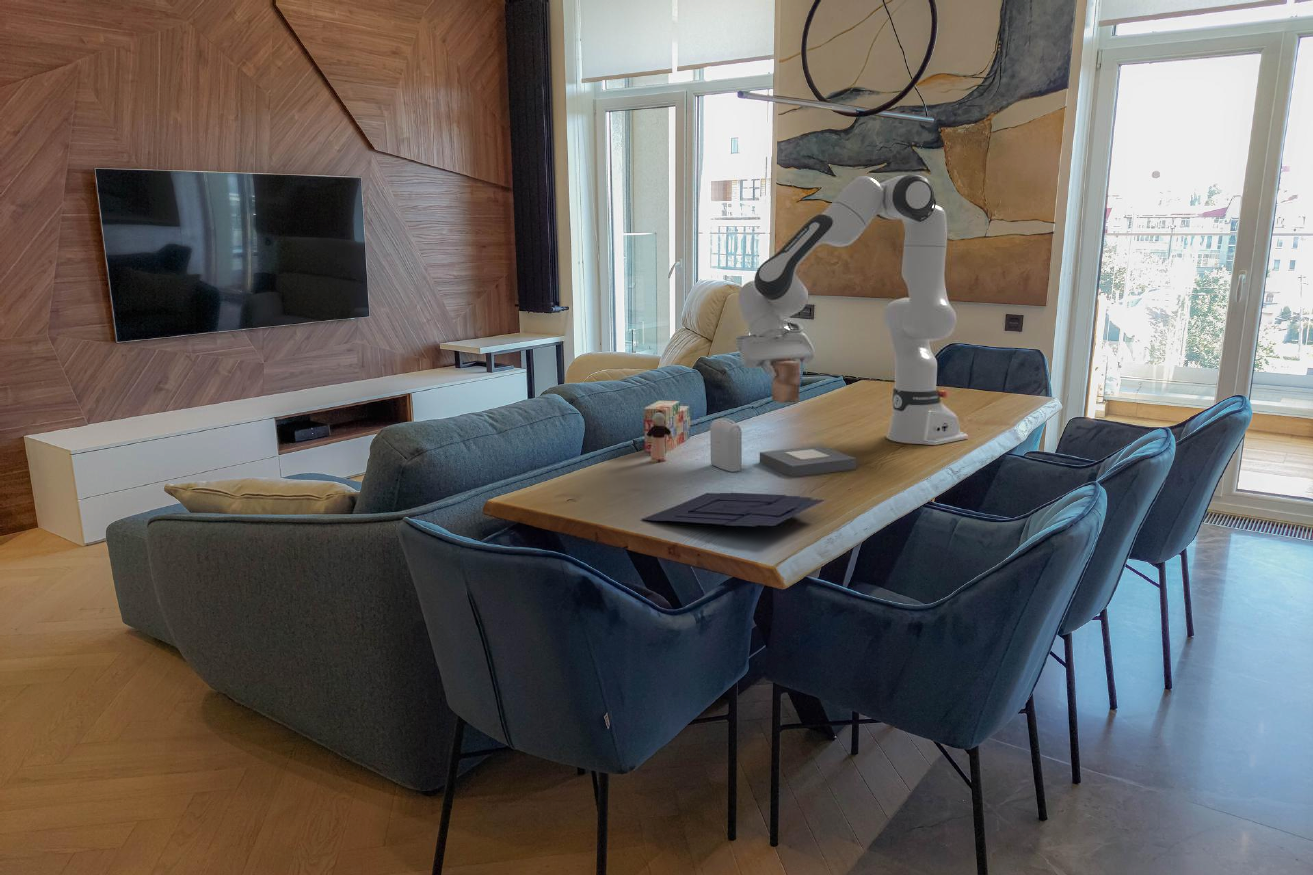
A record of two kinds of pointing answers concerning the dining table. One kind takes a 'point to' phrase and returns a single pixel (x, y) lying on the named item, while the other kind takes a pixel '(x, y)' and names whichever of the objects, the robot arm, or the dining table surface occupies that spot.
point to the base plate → (807, 461)
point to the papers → (736, 509)
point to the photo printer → (726, 445)
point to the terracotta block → (786, 381)
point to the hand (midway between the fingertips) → (787, 376)
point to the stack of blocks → (668, 423)
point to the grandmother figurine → (658, 438)
